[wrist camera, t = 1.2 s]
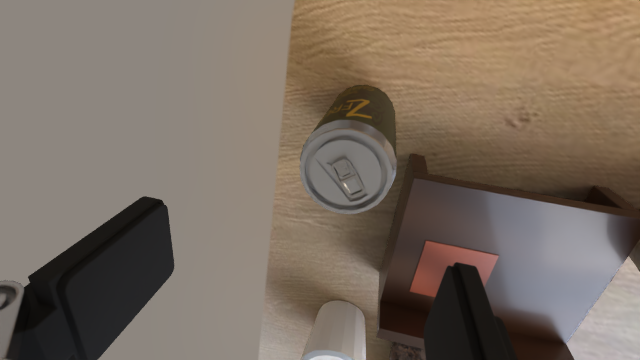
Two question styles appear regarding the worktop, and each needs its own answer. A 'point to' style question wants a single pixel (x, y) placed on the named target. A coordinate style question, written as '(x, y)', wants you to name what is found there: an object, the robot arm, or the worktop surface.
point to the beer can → (352, 152)
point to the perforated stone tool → (406, 352)
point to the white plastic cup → (337, 333)
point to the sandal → (636, 254)
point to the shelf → (502, 256)
